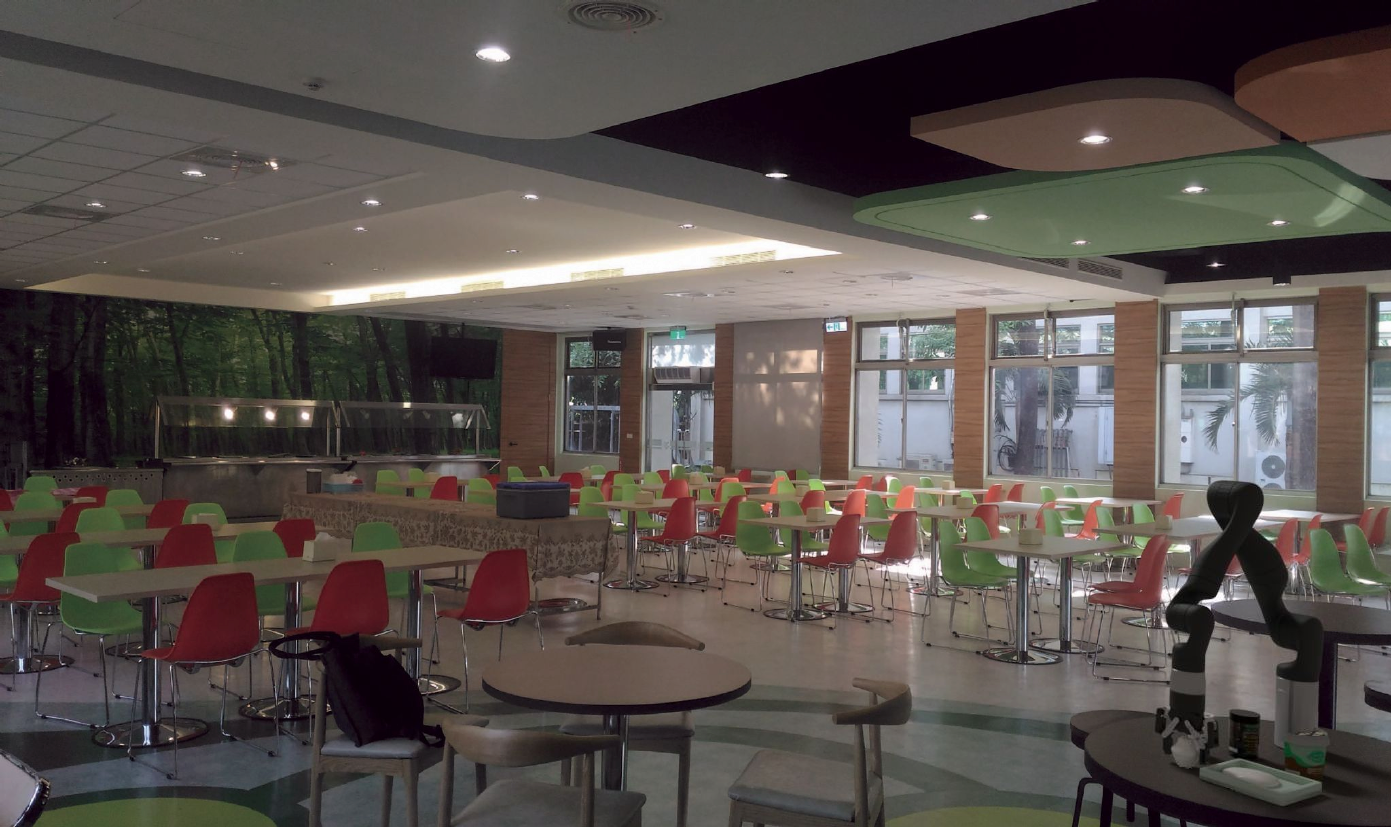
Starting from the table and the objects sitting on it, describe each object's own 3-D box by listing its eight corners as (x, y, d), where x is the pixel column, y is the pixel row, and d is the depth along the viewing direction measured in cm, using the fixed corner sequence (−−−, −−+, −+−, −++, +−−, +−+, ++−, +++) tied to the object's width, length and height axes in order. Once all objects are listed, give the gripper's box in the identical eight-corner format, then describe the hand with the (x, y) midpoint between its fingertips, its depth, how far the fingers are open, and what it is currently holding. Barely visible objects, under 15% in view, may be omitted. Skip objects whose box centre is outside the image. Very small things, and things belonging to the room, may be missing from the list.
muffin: (1203, 767, 234) (1204, 736, 234) (1195, 772, 230) (1196, 741, 230) (1175, 760, 239) (1176, 730, 239) (1166, 765, 234) (1167, 735, 234)
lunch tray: (1238, 769, 234) (1239, 758, 234) (1321, 794, 219) (1321, 782, 219) (1199, 779, 225) (1199, 768, 225) (1282, 806, 210) (1282, 794, 210)
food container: (1308, 785, 224) (1309, 740, 224) (1281, 776, 230) (1282, 732, 230) (1341, 778, 230) (1342, 734, 230) (1313, 770, 235) (1315, 726, 236)
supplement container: (1266, 759, 242) (1267, 715, 242) (1246, 762, 239) (1247, 717, 240) (1241, 750, 248) (1242, 708, 248) (1221, 753, 246) (1222, 710, 246)
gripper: (1226, 694, 231) (1224, 766, 230) (1168, 680, 243) (1166, 748, 242) (1208, 698, 227) (1205, 771, 226) (1149, 683, 239) (1147, 752, 238)
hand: (1185, 759), depth 234 cm, fingers open, 8 cm apart
